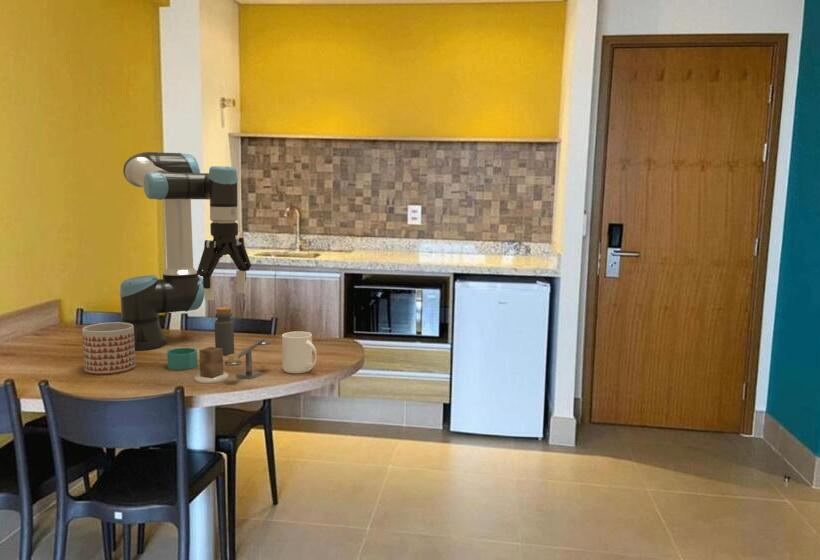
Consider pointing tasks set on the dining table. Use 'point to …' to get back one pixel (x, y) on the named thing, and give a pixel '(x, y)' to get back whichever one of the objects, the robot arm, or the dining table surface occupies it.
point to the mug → (297, 352)
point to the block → (211, 362)
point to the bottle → (224, 330)
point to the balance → (234, 360)
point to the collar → (182, 358)
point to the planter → (108, 348)
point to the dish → (211, 380)
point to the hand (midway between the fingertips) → (225, 296)
